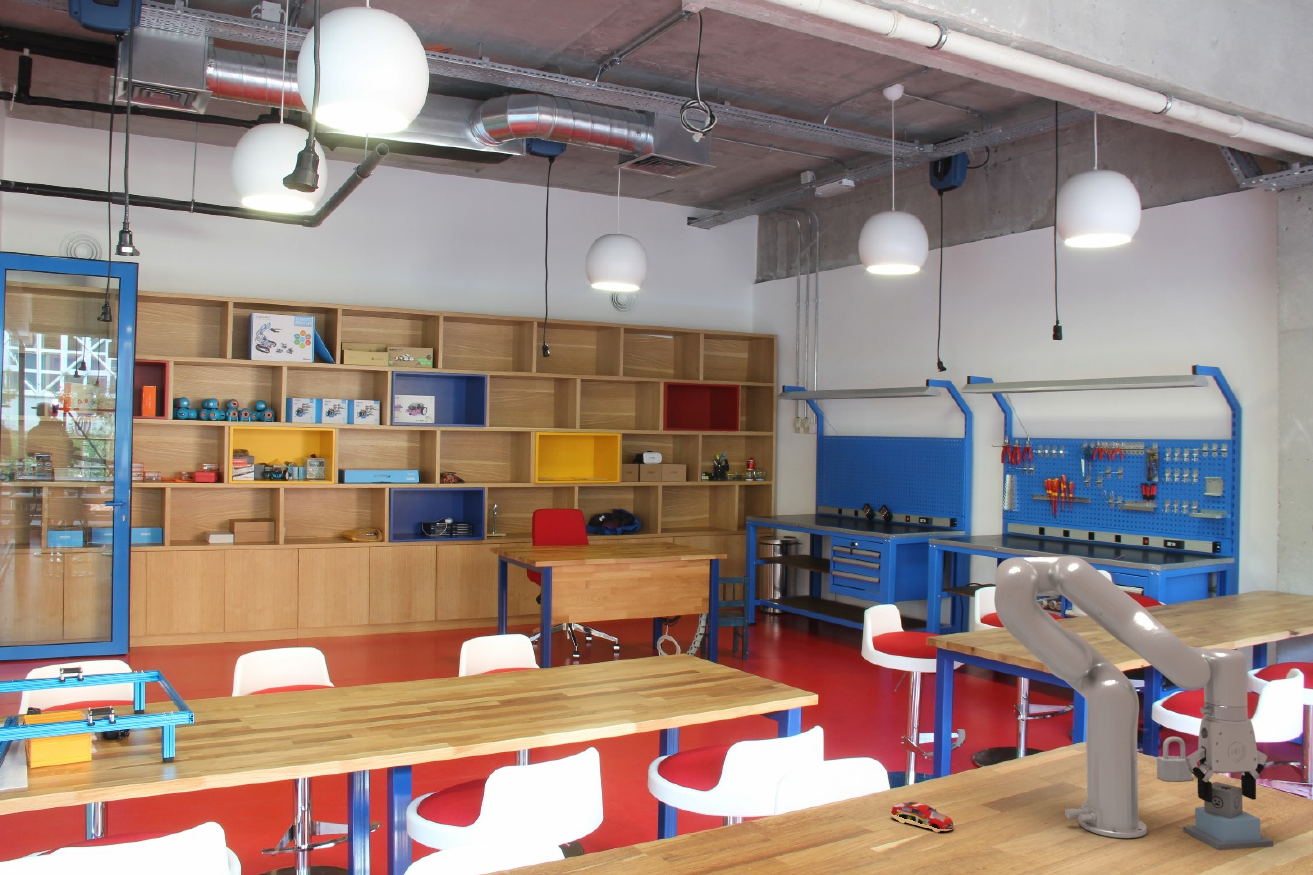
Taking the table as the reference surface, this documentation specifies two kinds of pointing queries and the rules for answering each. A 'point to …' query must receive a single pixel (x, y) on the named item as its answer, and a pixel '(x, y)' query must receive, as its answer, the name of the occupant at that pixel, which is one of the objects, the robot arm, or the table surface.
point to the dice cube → (1225, 801)
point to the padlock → (1173, 763)
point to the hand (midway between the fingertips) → (1226, 798)
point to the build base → (1226, 844)
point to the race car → (922, 815)
